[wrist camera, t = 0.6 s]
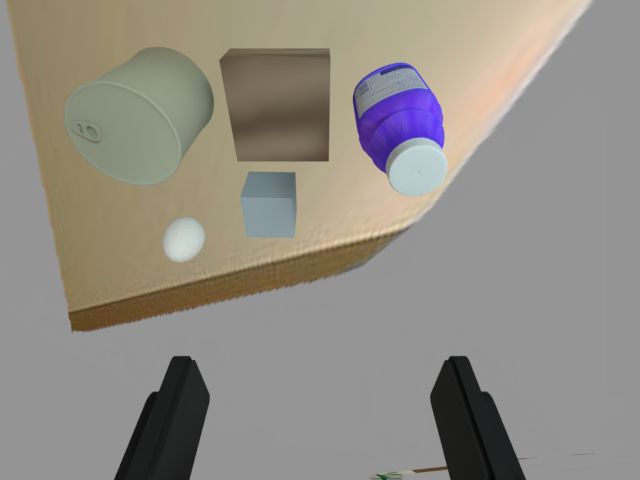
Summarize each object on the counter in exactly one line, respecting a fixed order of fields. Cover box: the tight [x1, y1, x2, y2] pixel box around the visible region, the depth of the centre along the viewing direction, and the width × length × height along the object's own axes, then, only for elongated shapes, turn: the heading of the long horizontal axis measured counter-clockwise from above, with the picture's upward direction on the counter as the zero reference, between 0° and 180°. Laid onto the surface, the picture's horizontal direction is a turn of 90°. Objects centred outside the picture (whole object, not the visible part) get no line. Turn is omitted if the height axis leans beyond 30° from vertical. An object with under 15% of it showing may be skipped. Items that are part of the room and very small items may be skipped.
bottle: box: [353, 63, 448, 196], centre depth 30 cm, size 7×6×17 cm
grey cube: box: [240, 172, 297, 238], centre depth 42 cm, size 6×6×6 cm
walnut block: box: [219, 48, 331, 162], centre depth 35 cm, size 10×10×5 cm
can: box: [64, 47, 214, 186], centre depth 32 cm, size 9×9×12 cm
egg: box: [162, 217, 205, 262], centre depth 45 cm, size 5×5×7 cm
